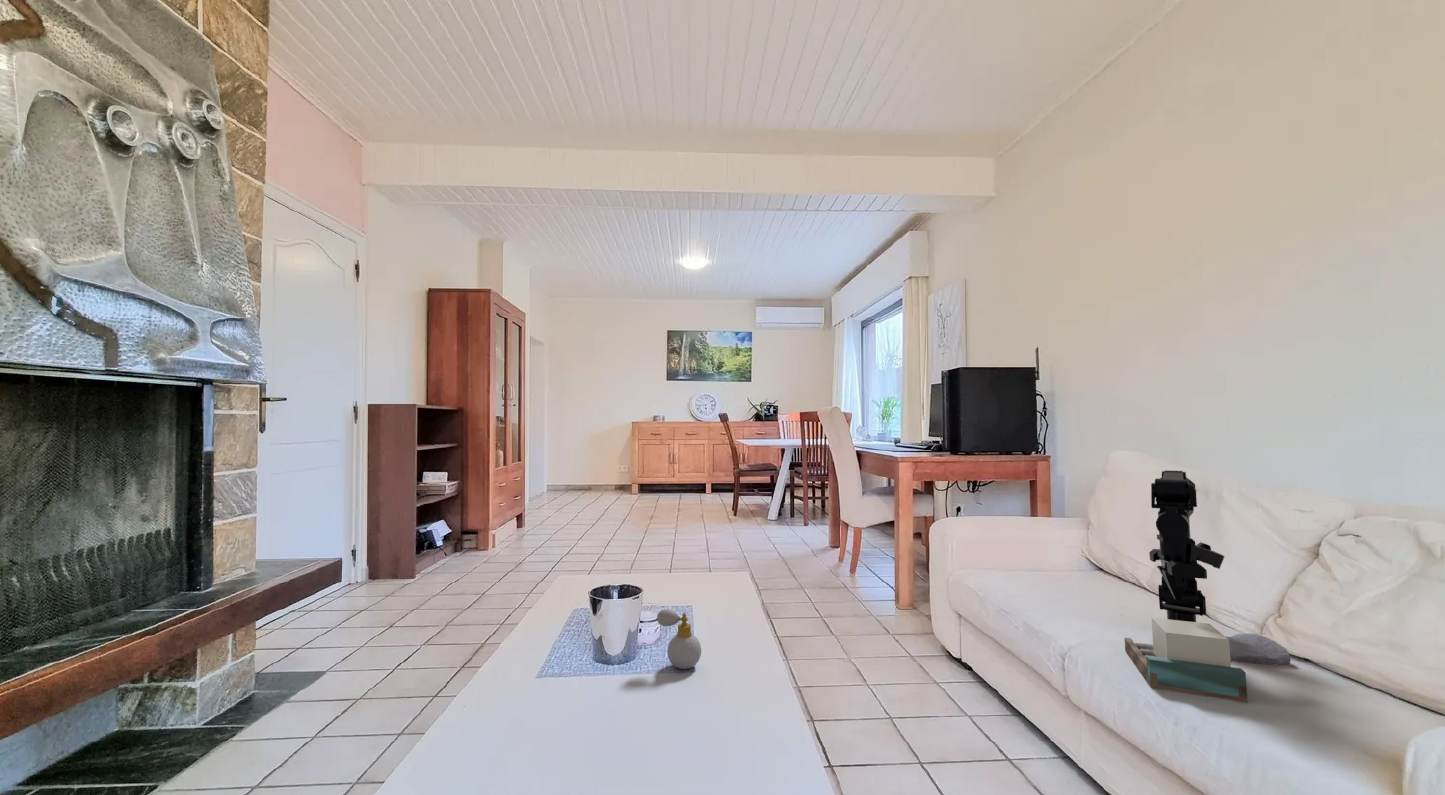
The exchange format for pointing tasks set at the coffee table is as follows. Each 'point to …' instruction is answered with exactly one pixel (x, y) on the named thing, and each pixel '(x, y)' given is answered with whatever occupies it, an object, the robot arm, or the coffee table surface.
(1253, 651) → the stone block
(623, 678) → the coffee table surface
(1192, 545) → the robot arm
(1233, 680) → the roller bed
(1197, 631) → the limestone slab
